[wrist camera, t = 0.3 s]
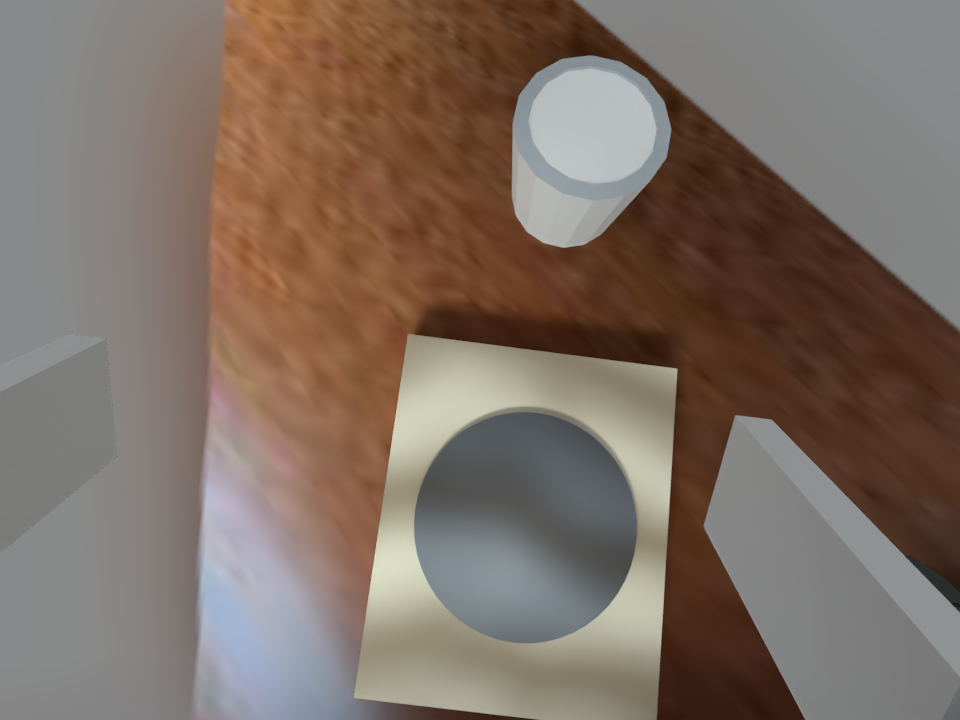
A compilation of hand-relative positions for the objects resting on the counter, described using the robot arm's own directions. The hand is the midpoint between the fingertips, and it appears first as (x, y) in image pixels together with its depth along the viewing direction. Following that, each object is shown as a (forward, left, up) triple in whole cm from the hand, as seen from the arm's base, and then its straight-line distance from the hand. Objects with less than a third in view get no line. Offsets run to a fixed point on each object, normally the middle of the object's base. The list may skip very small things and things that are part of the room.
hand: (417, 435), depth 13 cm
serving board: (-2, -4, -17) cm, 18 cm away
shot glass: (+15, -5, -18) cm, 23 cm away
